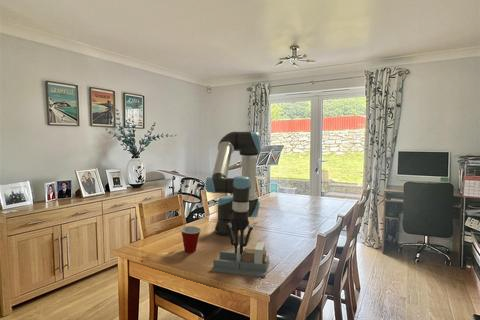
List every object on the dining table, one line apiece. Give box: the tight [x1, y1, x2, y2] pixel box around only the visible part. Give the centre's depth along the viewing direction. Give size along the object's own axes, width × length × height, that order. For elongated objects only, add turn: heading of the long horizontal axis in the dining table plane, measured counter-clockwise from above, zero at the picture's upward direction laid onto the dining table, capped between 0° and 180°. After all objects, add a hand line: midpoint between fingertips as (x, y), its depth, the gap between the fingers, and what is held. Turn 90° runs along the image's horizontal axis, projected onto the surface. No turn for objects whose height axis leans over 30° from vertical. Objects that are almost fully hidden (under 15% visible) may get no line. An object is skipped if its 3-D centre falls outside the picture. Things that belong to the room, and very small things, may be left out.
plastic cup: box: [180, 225, 202, 254], centre depth 152 cm, size 11×11×12 cm
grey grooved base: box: [211, 242, 270, 278], centre depth 134 cm, size 16×24×11 cm, turn 78°
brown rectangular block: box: [243, 247, 267, 263], centre depth 132 cm, size 5×10×7 cm, turn 78°
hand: (238, 260), depth 134 cm, fingers closed
